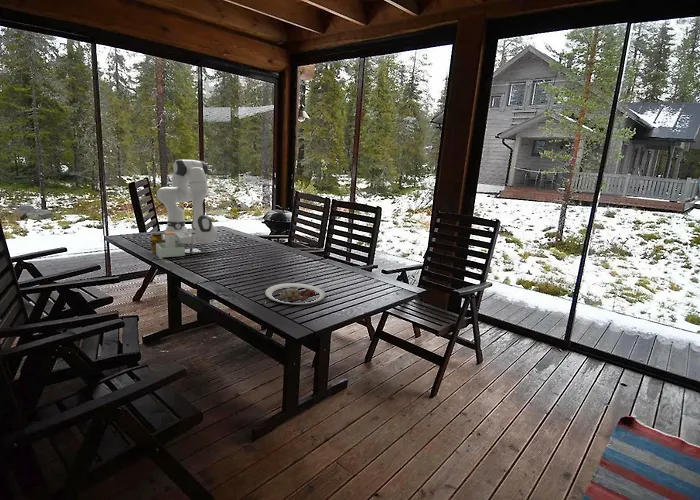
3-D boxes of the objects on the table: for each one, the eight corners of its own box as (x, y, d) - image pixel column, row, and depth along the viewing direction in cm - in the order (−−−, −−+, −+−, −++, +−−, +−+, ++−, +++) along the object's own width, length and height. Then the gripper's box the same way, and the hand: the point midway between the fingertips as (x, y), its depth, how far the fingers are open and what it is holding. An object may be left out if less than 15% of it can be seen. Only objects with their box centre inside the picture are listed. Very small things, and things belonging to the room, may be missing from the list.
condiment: (148, 252, 251) (148, 233, 248) (159, 249, 259) (158, 232, 256) (157, 253, 249) (157, 235, 246) (167, 251, 256) (167, 233, 254)
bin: (156, 254, 247) (155, 243, 246) (179, 252, 256) (179, 242, 254) (160, 259, 236) (160, 248, 235) (184, 257, 245) (184, 247, 243)
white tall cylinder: (165, 253, 246) (164, 232, 244) (173, 253, 249) (173, 231, 247) (167, 255, 242) (166, 233, 240) (175, 254, 245) (175, 233, 243)
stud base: (181, 251, 259) (181, 240, 257) (197, 250, 265) (197, 239, 263) (185, 255, 251) (185, 243, 250) (201, 253, 257) (201, 242, 255)
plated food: (253, 292, 196) (253, 286, 195) (301, 283, 217) (301, 277, 216) (288, 312, 175) (288, 305, 174) (337, 299, 196) (337, 293, 195)
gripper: (187, 228, 258) (164, 229, 250) (195, 235, 242) (172, 236, 234) (187, 238, 260) (165, 239, 252) (196, 244, 244) (172, 246, 236)
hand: (168, 237), depth 243 cm, fingers open, 7 cm apart
